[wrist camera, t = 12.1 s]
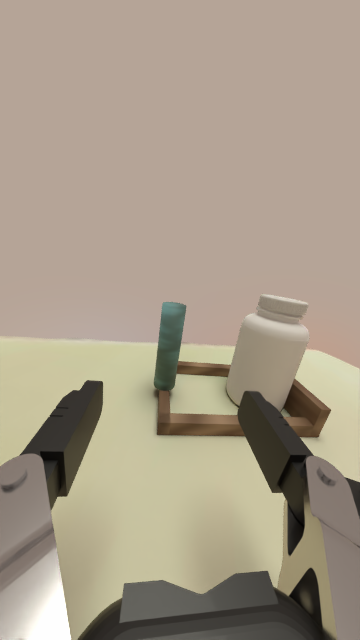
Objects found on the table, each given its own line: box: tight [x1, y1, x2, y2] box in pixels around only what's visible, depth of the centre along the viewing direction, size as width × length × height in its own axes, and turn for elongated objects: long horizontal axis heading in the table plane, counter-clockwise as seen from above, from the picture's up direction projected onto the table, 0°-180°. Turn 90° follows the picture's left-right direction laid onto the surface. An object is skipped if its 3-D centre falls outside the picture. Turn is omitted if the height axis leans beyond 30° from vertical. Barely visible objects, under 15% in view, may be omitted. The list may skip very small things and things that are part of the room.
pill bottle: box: [226, 294, 309, 412], centre depth 24 cm, size 8×8×15 cm
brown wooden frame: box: [154, 302, 331, 437], centre depth 23 cm, size 20×12×13 cm, turn 96°
